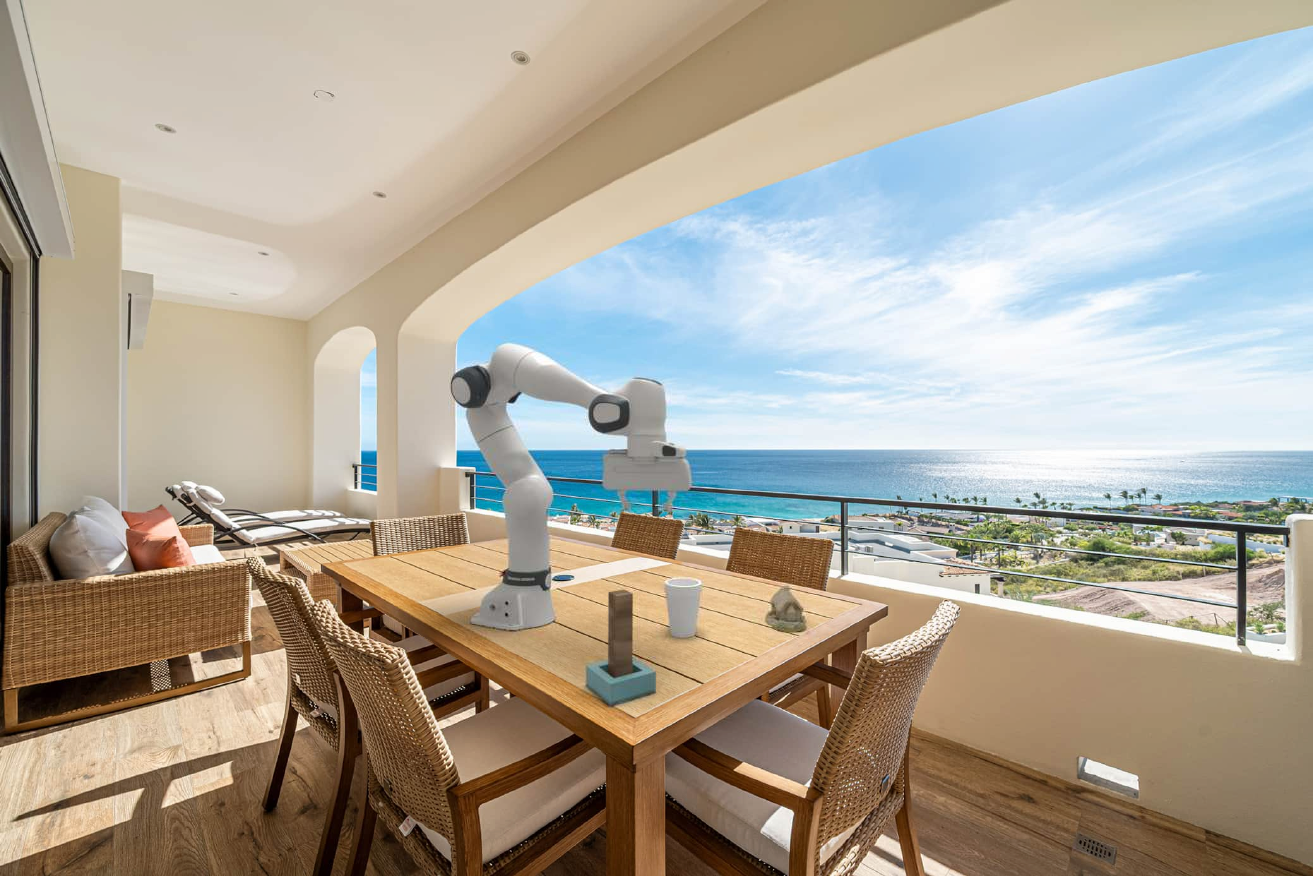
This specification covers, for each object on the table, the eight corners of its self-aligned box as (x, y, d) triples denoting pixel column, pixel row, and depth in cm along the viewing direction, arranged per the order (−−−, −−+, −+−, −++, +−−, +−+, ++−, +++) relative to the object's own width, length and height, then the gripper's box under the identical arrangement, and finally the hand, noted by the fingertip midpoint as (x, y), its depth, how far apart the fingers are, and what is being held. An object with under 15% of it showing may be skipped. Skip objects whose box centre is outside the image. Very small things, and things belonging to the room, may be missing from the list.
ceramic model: (761, 615, 151) (760, 580, 151) (800, 615, 151) (800, 580, 152) (772, 633, 137) (772, 593, 137) (815, 633, 137) (815, 593, 137)
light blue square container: (586, 685, 106) (586, 665, 106) (629, 674, 112) (629, 654, 112) (610, 706, 98) (610, 684, 98) (655, 692, 103) (655, 671, 103)
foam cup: (687, 642, 130) (687, 589, 130) (657, 634, 135) (657, 583, 135) (708, 632, 137) (708, 581, 137) (678, 624, 143) (678, 576, 143)
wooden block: (608, 684, 105) (608, 592, 105) (623, 679, 107) (623, 589, 107) (616, 690, 102) (617, 596, 102) (632, 686, 104) (632, 593, 104)
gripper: (598, 449, 120) (598, 510, 120) (688, 449, 115) (688, 513, 115) (607, 449, 126) (607, 507, 126) (693, 449, 121) (693, 510, 121)
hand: (646, 510), depth 120 cm, fingers open, 8 cm apart
